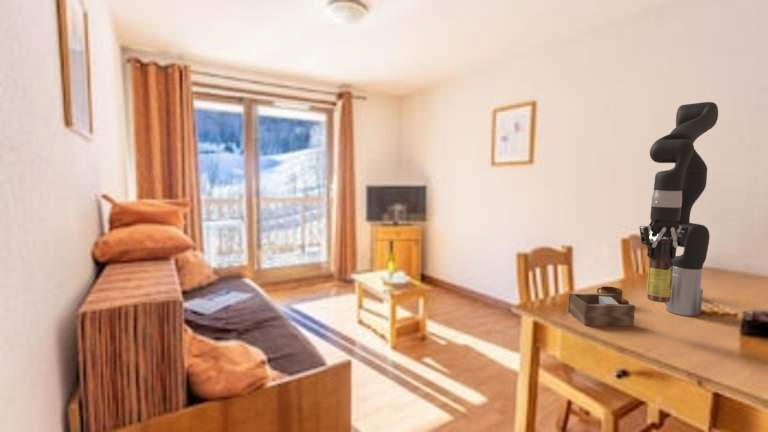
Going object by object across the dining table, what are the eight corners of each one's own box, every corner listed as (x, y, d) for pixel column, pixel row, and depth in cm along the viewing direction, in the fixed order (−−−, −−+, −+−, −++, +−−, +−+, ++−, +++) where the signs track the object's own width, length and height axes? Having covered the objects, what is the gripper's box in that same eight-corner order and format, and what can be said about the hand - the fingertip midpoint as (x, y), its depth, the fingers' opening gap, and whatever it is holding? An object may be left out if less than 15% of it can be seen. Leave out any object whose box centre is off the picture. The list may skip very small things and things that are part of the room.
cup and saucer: (587, 303, 151) (589, 288, 150) (599, 297, 159) (600, 282, 158) (622, 312, 142) (623, 296, 141) (632, 305, 150) (634, 289, 149)
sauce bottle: (674, 304, 119) (680, 241, 116) (651, 302, 120) (657, 240, 117) (663, 297, 125) (669, 237, 122) (642, 295, 126) (647, 236, 124)
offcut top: (610, 306, 139) (610, 296, 138) (618, 314, 131) (619, 304, 130) (598, 305, 139) (598, 296, 139) (605, 313, 132) (606, 303, 131)
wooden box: (612, 312, 142) (613, 293, 141) (633, 325, 129) (635, 305, 128) (568, 311, 142) (569, 293, 141) (585, 325, 130) (586, 305, 129)
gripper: (680, 204, 122) (675, 256, 124) (635, 203, 122) (630, 255, 125) (699, 206, 115) (693, 261, 117) (650, 206, 115) (645, 261, 117)
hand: (660, 258), depth 121 cm, fingers closed on sauce bottle, 5 cm apart
